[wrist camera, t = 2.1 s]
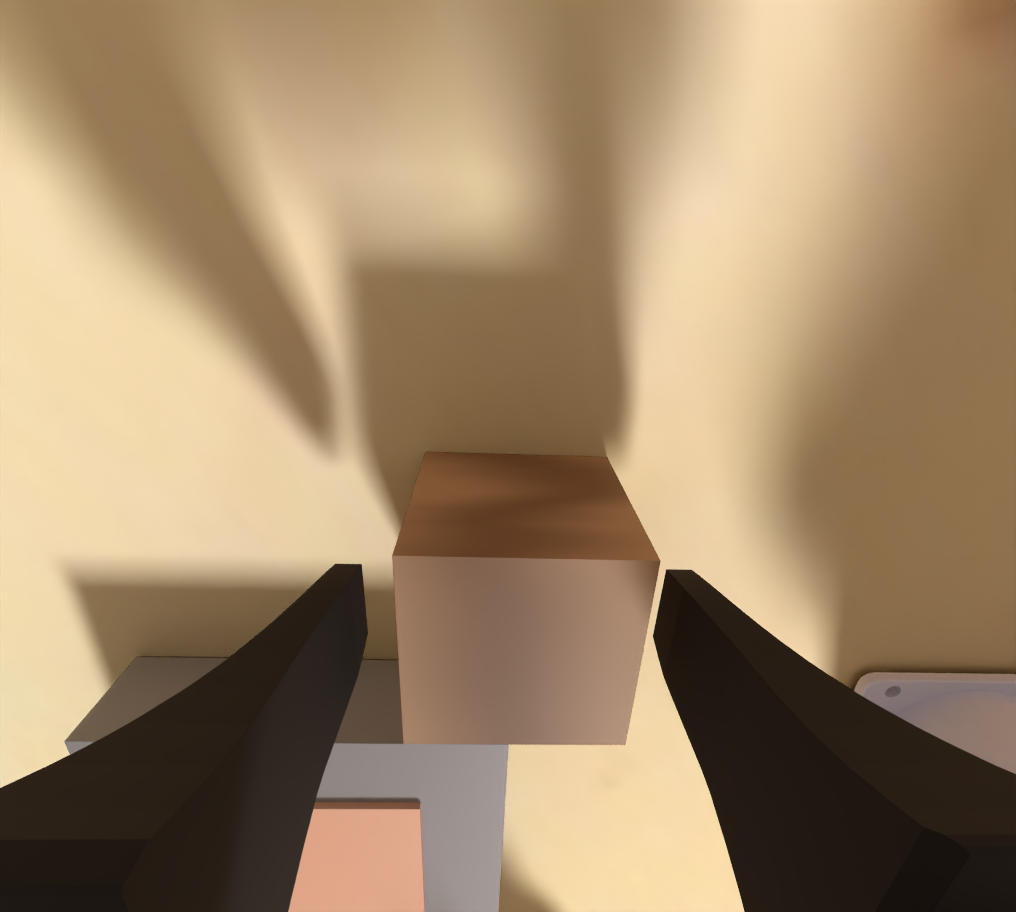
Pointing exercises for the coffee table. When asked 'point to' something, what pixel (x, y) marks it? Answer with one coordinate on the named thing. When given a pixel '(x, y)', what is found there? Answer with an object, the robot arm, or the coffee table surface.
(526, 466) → the walnut cube
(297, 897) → the slate plinth
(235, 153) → the coffee table surface
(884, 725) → the robot arm
